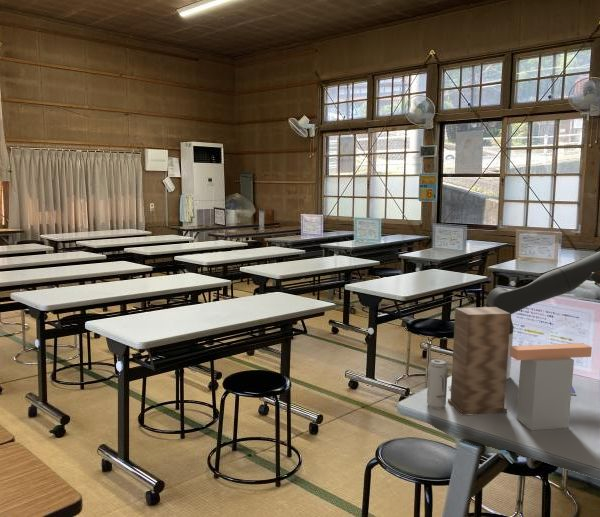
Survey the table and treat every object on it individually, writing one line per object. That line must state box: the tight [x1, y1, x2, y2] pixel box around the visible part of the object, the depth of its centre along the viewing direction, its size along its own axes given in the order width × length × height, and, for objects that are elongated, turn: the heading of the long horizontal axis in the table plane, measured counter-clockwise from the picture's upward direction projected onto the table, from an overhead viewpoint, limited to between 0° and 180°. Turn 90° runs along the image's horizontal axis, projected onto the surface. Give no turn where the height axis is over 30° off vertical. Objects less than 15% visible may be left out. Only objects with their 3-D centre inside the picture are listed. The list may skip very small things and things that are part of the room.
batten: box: [510, 342, 593, 361], centre depth 165 cm, size 24×4×3 cm, turn 100°
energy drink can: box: [426, 358, 449, 410], centre depth 179 cm, size 6×6×15 cm
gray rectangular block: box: [516, 358, 575, 431], centre depth 167 cm, size 12×8×21 cm, turn 100°
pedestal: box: [447, 306, 512, 416], centre depth 177 cm, size 15×10×32 cm
